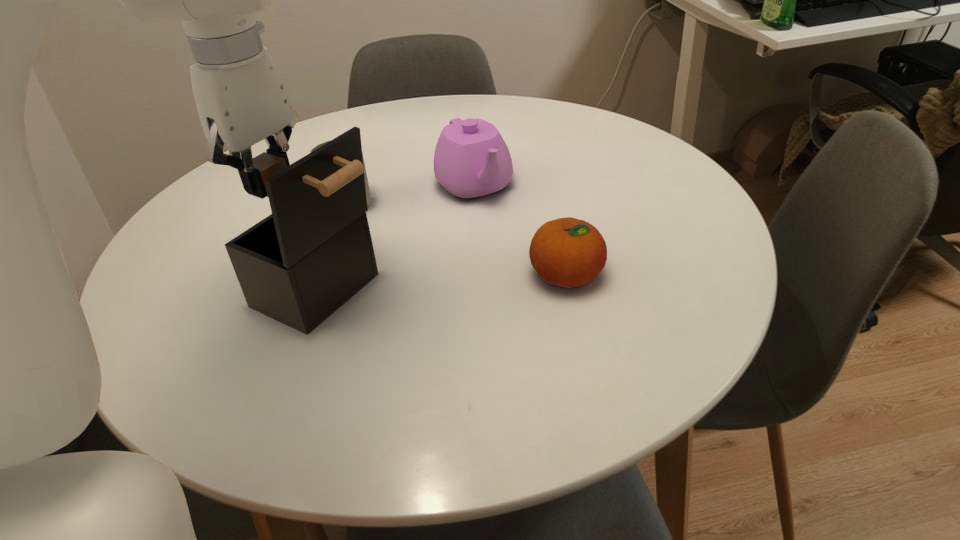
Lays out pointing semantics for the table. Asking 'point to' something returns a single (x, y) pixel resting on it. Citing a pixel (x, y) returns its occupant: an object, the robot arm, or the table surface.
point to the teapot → (472, 158)
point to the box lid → (318, 196)
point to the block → (268, 165)
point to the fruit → (568, 252)
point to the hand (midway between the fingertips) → (270, 185)
